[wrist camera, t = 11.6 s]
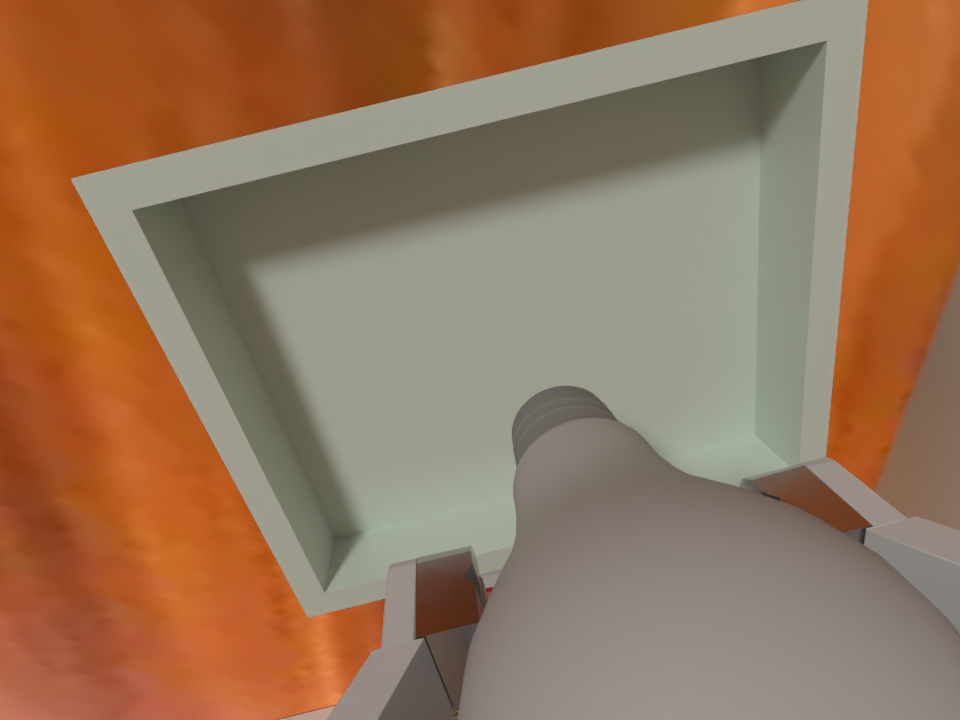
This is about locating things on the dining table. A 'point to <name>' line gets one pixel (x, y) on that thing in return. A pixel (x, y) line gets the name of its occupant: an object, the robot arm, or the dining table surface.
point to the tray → (505, 282)
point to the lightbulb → (688, 596)
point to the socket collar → (313, 715)
